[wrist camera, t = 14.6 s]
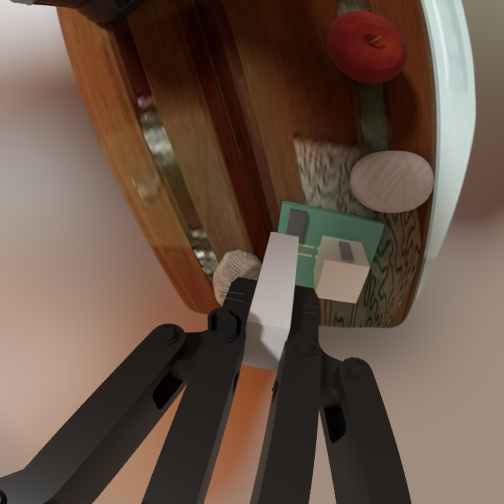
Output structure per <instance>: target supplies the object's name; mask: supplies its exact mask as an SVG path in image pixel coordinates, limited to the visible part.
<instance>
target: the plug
mask: <svg viewBox="0 0 504 504" xmlns="http://www.w3.org/2000/svg"><path fill="white" fill-rule="evenodd" d="M369 269H370V266H369V263H368V260H367V257H366V254H365V251H364V248H363V245H362V243H361V242H355V241H350V240H345V239H340V238H334V237H329V236H323V235H322V239H321V243H320V247H319V251H318V255H317V259H316V263H315V267H314V290H315V292H316V294H317V296H318V298H323V299H329V300H336V301H342V302H349V303H356V302H357V300H358V297H359V295H360V293H361V290H362V288H363V285H364V282H365V280H366V277H367V275H368V272H369Z"/></svg>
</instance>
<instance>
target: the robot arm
mask: <svg viewBox="0 0 504 504" xmlns="http://www.w3.org/2000/svg"><path fill="white" fill-rule="evenodd" d="M10 1H11V2H14V3H21V4H27V5H32V4H35V5H48V6H57V7H65V8H72V9H75V10H76V11H78V12H79V13H80V14H82V15H83V16H85V17H86V18H87V19H88V20H90V21H93V22H98V23H111V22H115V21H117V20H120V19H122V18H123V17H125V16H127V15H128V14H130V13H131V12H132V11H133V10H135V9H136V8H137V7H138V6H139V5H140V4H141V3H142V2H143V1H144V0H10ZM298 242H299V237H298V236H292V235H286V234H281V233H275V232H271V235H270V238H269V242H268V246H267V250H266V253H265V257H264V261H263V264H262V268H261V272H260V275H259V279H258V280H253V279H248V278H242V277H237V278H236V279H235V280H234V281H233V282H232V283H231V285H230V287H229V290H228V292H227V295H226V298H225V300H224V302H223V305H222V307H220V308H216V309H214V310H213V311H211V312H210V314H209V315H208V330H205V331H203V332H192V333H185V332H184V331H183V329H182V328H181V327H179V326H178V325H175V324H163V325H160V326H158V327H157V328H155V329H154V330H153V331H152V332H151V333H150V334H149V335H148V336H147V337H146V338H145V339H144V340H143V341H142V342H141V343H140V344H139V345H138V346H137V347H136V348H135V349H134V351H132V353H131V354H130V355H129V356H128V357H127V358H126V359H125V360H124V361H123V362H122V363H121V364H120V365H119V366H118V367H117V368H116V369H115V370H114V372H113V373H112V374H111V375H110V376H109V377H108V378H107V379H106V380H105V381H104V382H103V383H102V384H101V385H100V386H99V387H98V389H96V391H95V392H94V393H93V394H92V395H91V396H90V397H89V398H88V399H87V400H86V401H85V402H84V403H83V404H82V406H81V407H80V408H79V409H78V410H77V411H76V412H75V413H74V414H73V416H72V417H70V419H69V420H68V421H67V422H66V423H65V424H64V425H63V426H62V427H61V428H60V429H59V431H58V432H57V433H56V434H55V435H54V436H53V437H52V438H51V440H50V441H49V442H48V443H47V444H46V445H45V446H44V447H43V448H42V449H41V450H40V452H39V453H38V454H37V455H36V456H35V457H34V458H33V459H32V461H31V462H30V463H29V464H28V465H27V466H26V467H25V468H24V469H23V470H20V471H18V472H15V473H12V474H10V475H7V476H4V477H1V478H0V504H92V503H93V502H94V501H95V499H96V498H97V497H98V496H99V495H100V494H101V492H102V491H103V490H104V489H105V488H106V486H107V485H108V484H109V483H110V481H111V480H112V479H113V478H114V477H115V475H116V474H117V473H118V472H119V470H120V469H121V468H122V467H123V465H124V464H125V463H126V462H127V461H128V459H129V458H130V457H131V455H132V454H133V453H134V452H135V450H136V449H137V448H138V447H139V446H140V444H141V443H142V442H143V440H144V439H145V438H146V437H147V435H148V434H149V433H150V432H151V430H152V429H153V428H154V426H155V425H156V424H157V422H158V421H159V420H160V418H161V417H162V416H163V415H164V413H165V412H166V411H167V410H168V408H169V407H170V406H171V404H172V403H173V402H174V400H175V399H176V398H177V396H178V395H179V394H180V392H181V391H182V390H183V388H184V387H185V386H186V384H187V386H186V388H185V391H184V393H183V396H182V398H181V401H180V404H179V406H178V409H177V411H176V414H175V417H174V419H173V422H172V424H171V427H170V430H169V432H168V434H167V437H166V440H165V442H164V445H163V448H162V450H161V453H160V456H159V458H158V461H157V464H156V466H155V469H154V471H153V474H152V477H151V479H150V482H149V485H148V487H147V490H146V493H145V495H144V498H143V501H142V503H141V504H204V501H205V497H206V494H207V490H208V487H209V484H210V480H211V476H212V473H213V470H214V466H215V463H216V459H217V456H218V452H219V449H220V445H221V442H222V438H223V434H224V430H225V427H226V423H227V419H228V416H229V412H230V409H231V405H232V402H233V398H234V394H235V390H236V387H237V382H238V379H239V374H240V368H241V364H242V365H247V366H252V367H258V368H263V369H268V370H274V371H277V370H278V371H277V377H276V380H275V383H274V386H273V389H272V391H273V394H272V400H271V405H270V411H269V416H268V421H267V426H266V432H265V437H264V442H263V446H262V452H261V456H260V461H259V466H258V470H257V475H256V479H255V483H254V488H253V492H252V496H251V500H250V504H308V503H309V497H310V490H311V483H312V476H313V468H314V459H315V450H316V439H317V428H318V415H319V414H318V413H319V411H320V416H321V421H322V426H323V431H324V436H325V441H326V447H327V452H328V458H329V463H330V469H331V474H332V480H333V486H334V491H335V498H336V503H337V504H411V500H410V495H409V491H408V486H407V482H406V478H405V474H404V470H403V466H402V463H401V459H400V455H399V452H398V448H397V445H396V441H395V438H394V435H393V431H392V429H391V425H390V422H389V419H388V415H387V412H386V409H385V406H384V403H383V400H382V397H381V394H380V392H379V389H378V386H377V383H376V380H375V377H374V374H373V372H372V369H371V368H370V366H369V364H368V363H366V362H365V361H364V360H362V359H359V358H353V357H351V358H348V359H345V360H344V361H343V362H342V361H340V360H337V359H335V358H332V357H331V356H329V355H327V354H326V353H325V352H324V351H323V350H322V349H321V347H320V345H319V342H318V327H319V315H318V314H319V308H318V307H319V298H318V296H317V294H316V292H315V290H312V289H307V288H301V287H295V277H296V266H297V254H298Z"/></svg>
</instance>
